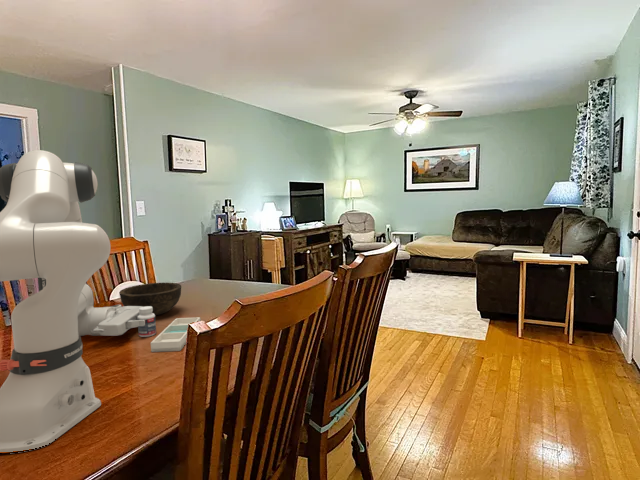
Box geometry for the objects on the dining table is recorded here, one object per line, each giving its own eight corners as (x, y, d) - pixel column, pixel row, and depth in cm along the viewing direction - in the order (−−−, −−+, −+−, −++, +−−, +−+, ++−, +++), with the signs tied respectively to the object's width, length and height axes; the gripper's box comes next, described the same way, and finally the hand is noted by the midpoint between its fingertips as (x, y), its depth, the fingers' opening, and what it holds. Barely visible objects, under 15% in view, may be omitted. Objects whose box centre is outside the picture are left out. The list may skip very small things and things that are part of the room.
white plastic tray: (180, 350, 116) (179, 341, 115) (151, 352, 115) (150, 342, 115) (200, 325, 139) (200, 317, 139) (176, 326, 139) (176, 318, 138)
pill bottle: (149, 337, 128) (147, 310, 127) (135, 337, 129) (133, 309, 128) (159, 332, 133) (157, 305, 132) (145, 331, 134) (143, 305, 133)
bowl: (184, 318, 148) (182, 291, 147) (118, 326, 140) (116, 298, 139) (181, 304, 168) (180, 280, 167) (123, 310, 160) (121, 286, 159)
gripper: (87, 321, 119) (135, 319, 120) (118, 303, 139) (159, 301, 140) (89, 342, 120) (136, 340, 120) (120, 321, 140) (160, 319, 141)
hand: (149, 319), depth 130 cm, fingers closed on pill bottle, 5 cm apart
